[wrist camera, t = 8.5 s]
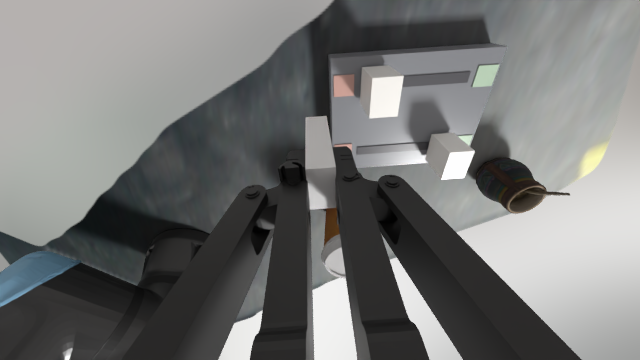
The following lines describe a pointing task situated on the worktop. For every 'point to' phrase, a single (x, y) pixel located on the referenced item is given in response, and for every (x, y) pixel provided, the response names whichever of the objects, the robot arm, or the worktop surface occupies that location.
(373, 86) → the block
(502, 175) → the mate gourd
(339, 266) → the disposable coffee cup
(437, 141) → the block
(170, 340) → the robot arm
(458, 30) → the worktop surface
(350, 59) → the panel
